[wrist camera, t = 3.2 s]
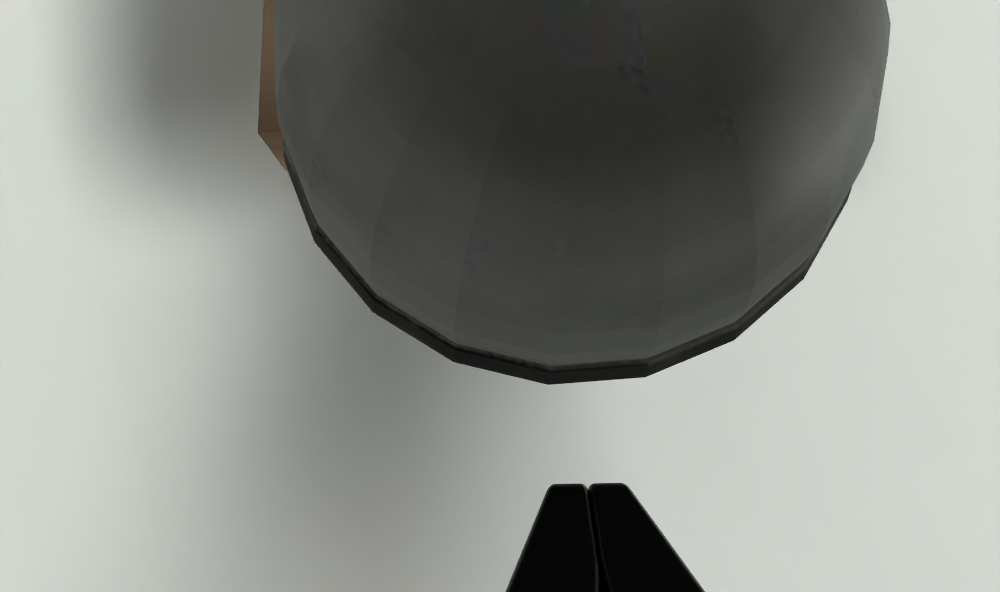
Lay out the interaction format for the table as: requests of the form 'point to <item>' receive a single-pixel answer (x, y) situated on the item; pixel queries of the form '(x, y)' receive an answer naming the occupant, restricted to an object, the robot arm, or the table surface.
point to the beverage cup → (575, 165)
